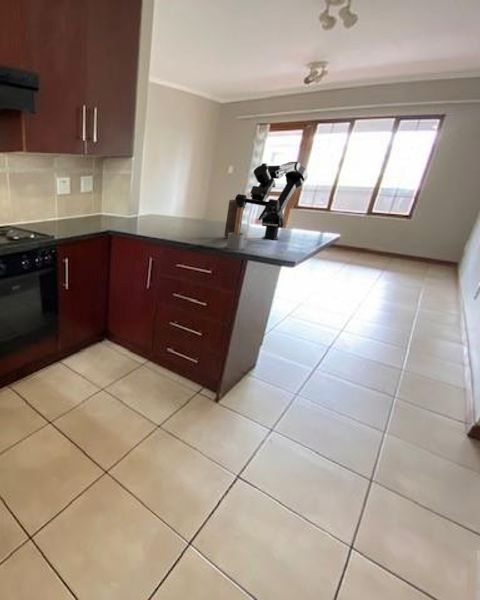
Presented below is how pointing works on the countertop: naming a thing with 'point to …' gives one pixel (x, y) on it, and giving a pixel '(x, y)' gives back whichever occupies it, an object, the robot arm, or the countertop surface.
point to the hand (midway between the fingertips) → (248, 218)
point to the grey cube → (235, 241)
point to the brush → (238, 221)
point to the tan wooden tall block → (231, 218)
